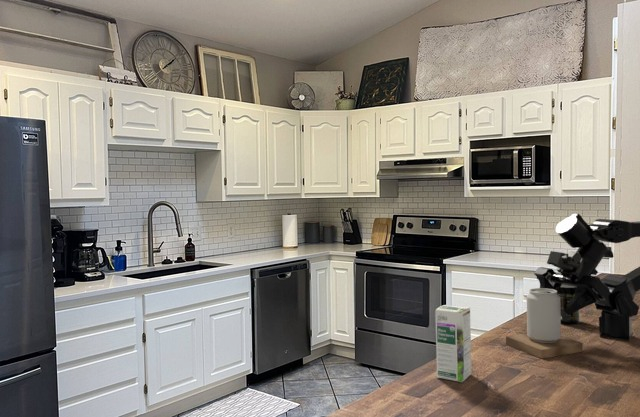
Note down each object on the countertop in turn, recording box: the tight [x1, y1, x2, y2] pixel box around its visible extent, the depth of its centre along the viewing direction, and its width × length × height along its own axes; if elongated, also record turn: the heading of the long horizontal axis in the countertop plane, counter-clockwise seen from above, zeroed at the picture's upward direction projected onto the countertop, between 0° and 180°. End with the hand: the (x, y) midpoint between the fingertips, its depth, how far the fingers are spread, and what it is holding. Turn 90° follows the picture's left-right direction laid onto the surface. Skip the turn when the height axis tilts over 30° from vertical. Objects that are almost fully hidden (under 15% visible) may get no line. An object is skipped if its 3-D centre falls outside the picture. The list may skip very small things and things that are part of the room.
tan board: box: [505, 332, 584, 360], centre depth 127 cm, size 12×12×2 cm
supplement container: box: [556, 284, 581, 326], centre depth 149 cm, size 7×7×10 cm
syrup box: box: [434, 304, 472, 383], centre depth 110 cm, size 6×6×14 cm
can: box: [526, 287, 562, 343], centre depth 127 cm, size 8×8×12 cm
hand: (551, 309), depth 127 cm, fingers open, 9 cm apart
